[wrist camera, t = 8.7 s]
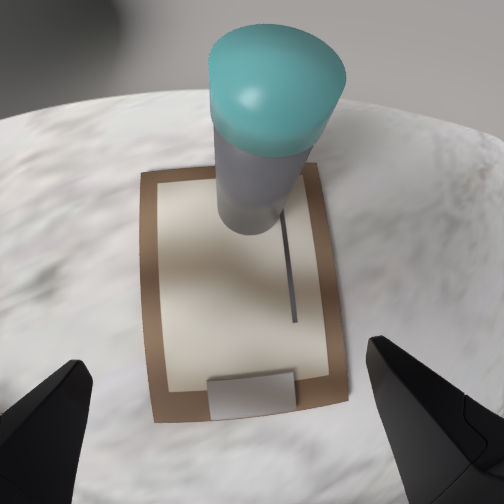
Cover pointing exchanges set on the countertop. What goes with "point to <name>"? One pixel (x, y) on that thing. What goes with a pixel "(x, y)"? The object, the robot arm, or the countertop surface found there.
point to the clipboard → (237, 303)
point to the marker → (267, 117)
